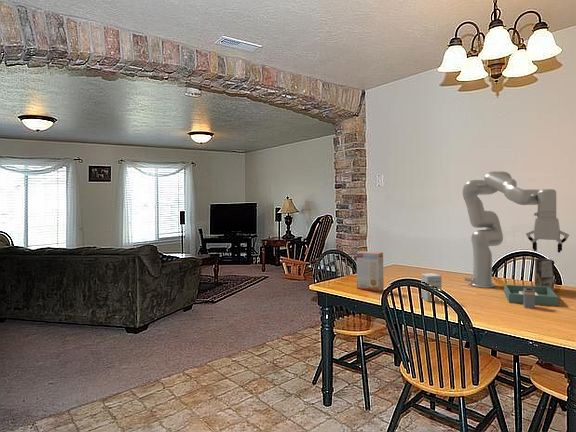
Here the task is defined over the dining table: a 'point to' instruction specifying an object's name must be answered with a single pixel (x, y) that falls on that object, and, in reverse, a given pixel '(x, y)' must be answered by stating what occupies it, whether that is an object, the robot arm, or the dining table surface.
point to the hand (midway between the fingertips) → (547, 251)
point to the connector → (529, 297)
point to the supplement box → (433, 281)
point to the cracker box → (370, 271)
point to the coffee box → (544, 273)
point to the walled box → (541, 295)
